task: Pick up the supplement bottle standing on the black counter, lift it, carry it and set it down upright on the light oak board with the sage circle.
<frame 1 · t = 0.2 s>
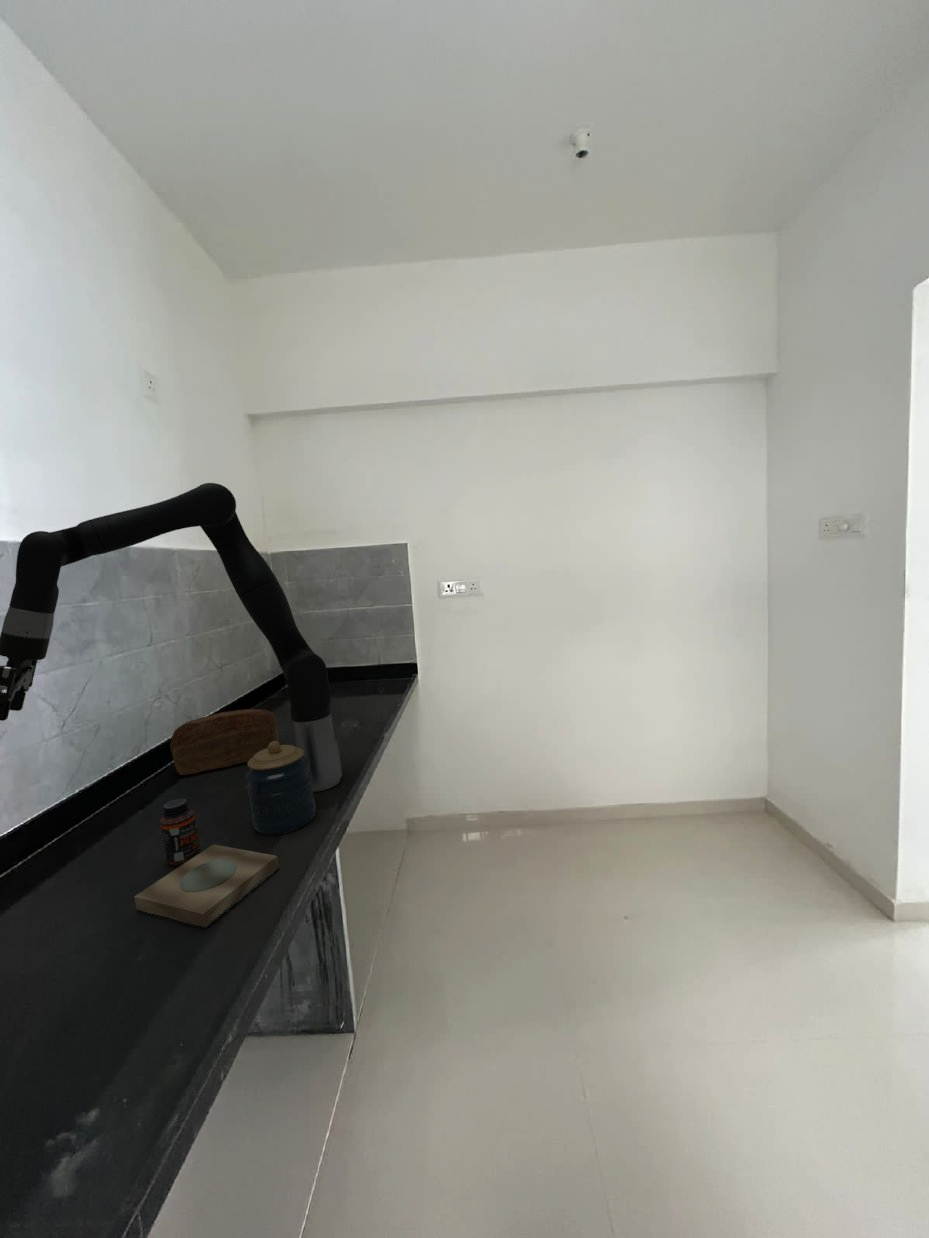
hand: (7, 714, 105), 31 cm above the counter, tool tilted 20°, fingers open, 8 cm apart
bread: (230, 763, 155), on the counter
oak board: (211, 888, 94), on the counter
supplement bottle: (184, 858, 105), on the counter
canister: (286, 821, 116), on the counter
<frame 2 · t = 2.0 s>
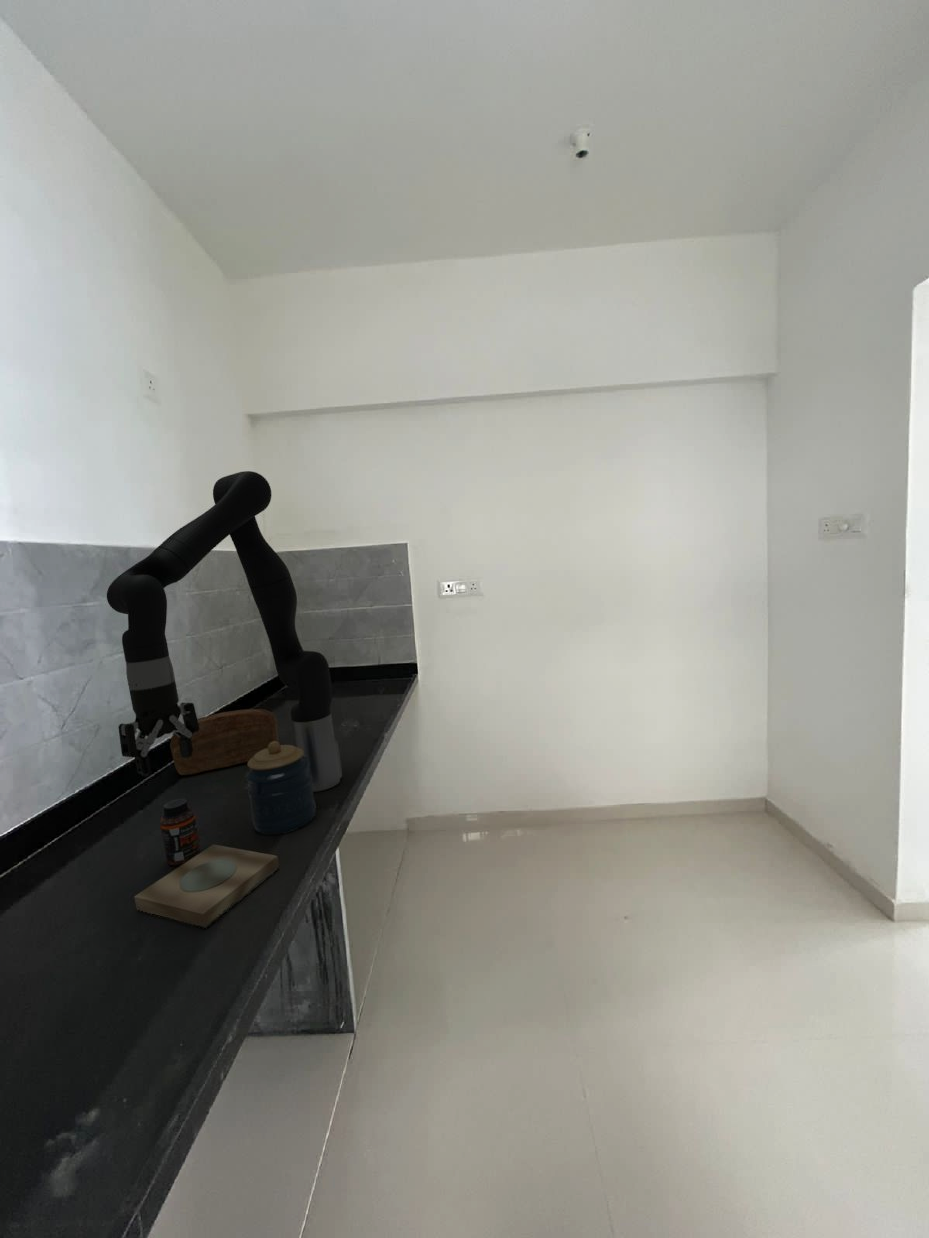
hand: (167, 765, 103), 19 cm above the counter, tool pointing down, fingers open, 8 cm apart
nothing on the counter moved.
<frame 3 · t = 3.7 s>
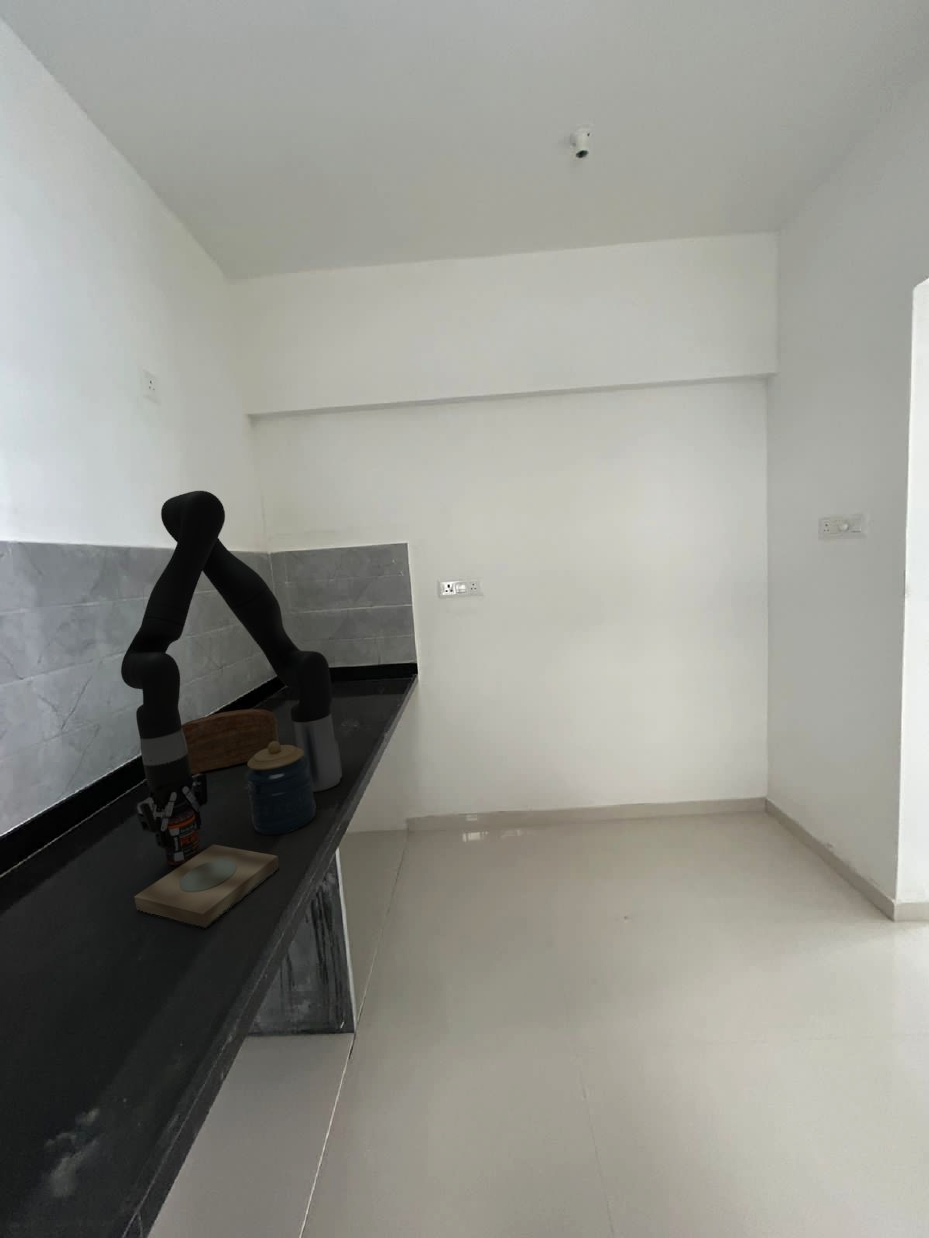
hand: (181, 838, 105), 4 cm above the counter, tool pointing down, fingers closed on supplement bottle, 6 cm apart
supplement bottle: (184, 858, 105), on the counter, touching gripper
everything else where it was.
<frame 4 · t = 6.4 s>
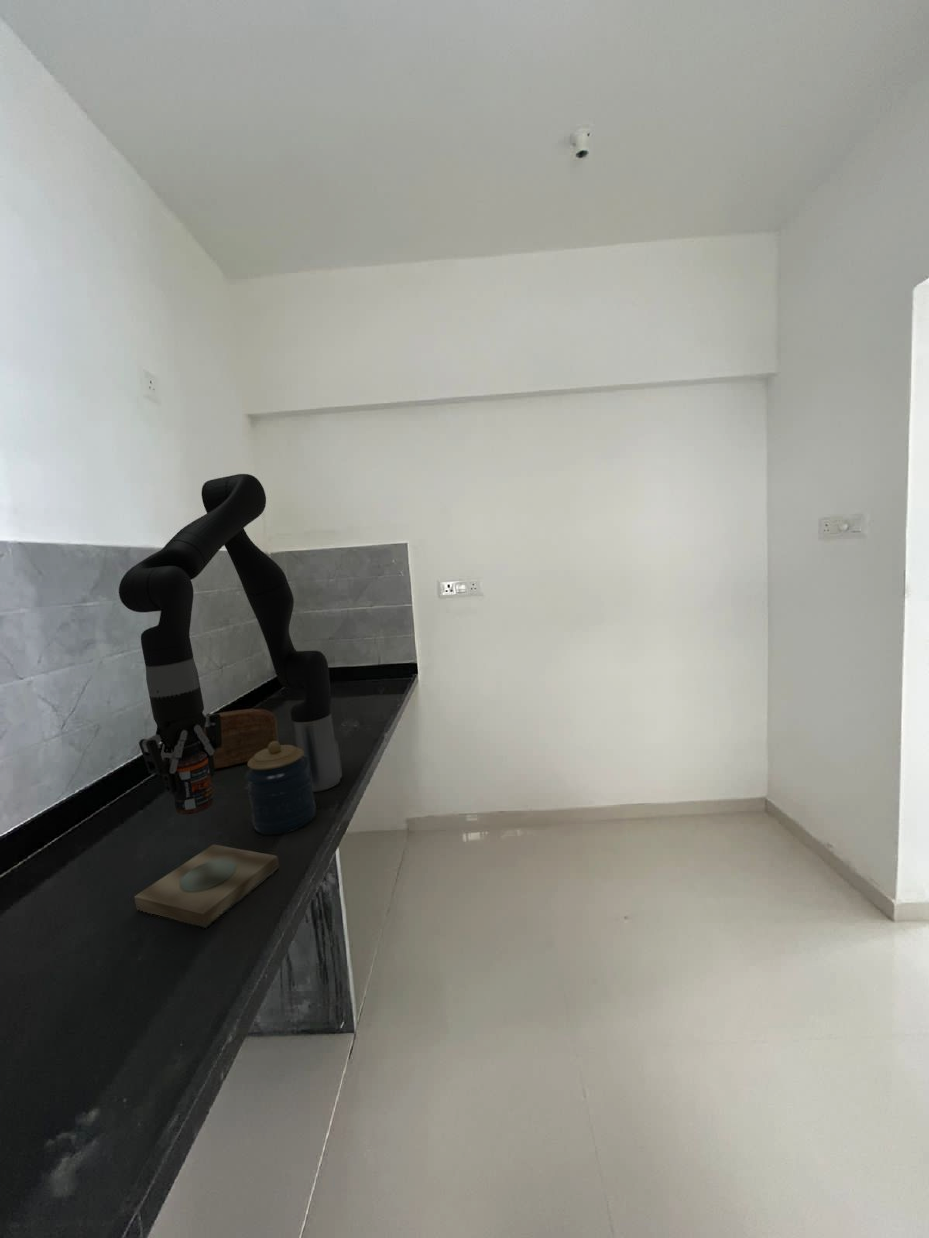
hand: (192, 784, 92), 19 cm above the counter, tool pointing down, fingers closed on supplement bottle, 6 cm apart
supplement bottle: (196, 808, 92), point 15 cm above the counter, touching gripper
everything else where it was.
when the fingers open (8 cm above the counter, at t = 9.3 s): supplement bottle drops 1 cm, resting on oak board.
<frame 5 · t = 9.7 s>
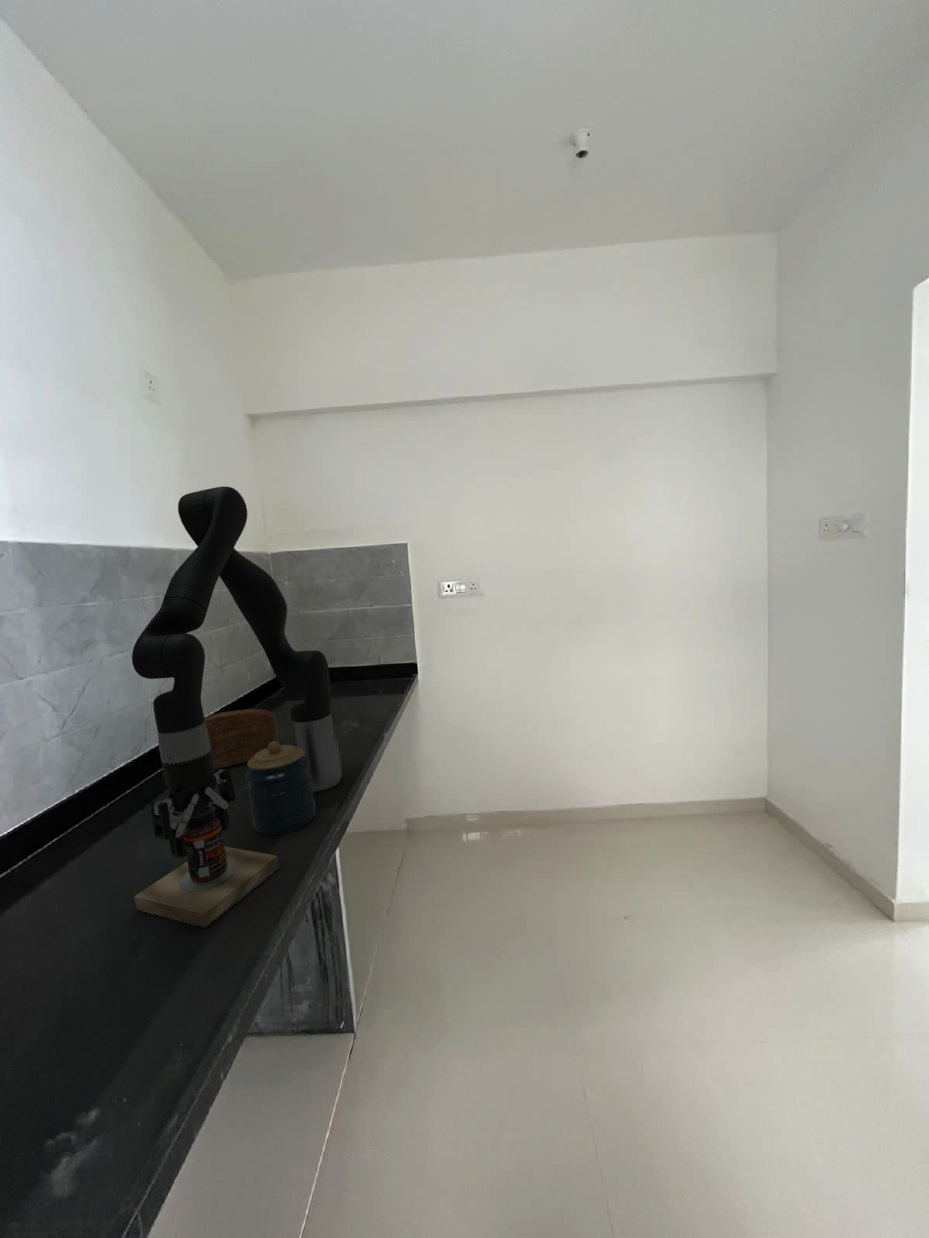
hand: (202, 842, 93), 9 cm above the counter, tool pointing down, fingers open, 8 cm apart
supplement bottle: (209, 874, 94), point 2 cm above the counter, touching oak board
everything else where it was.
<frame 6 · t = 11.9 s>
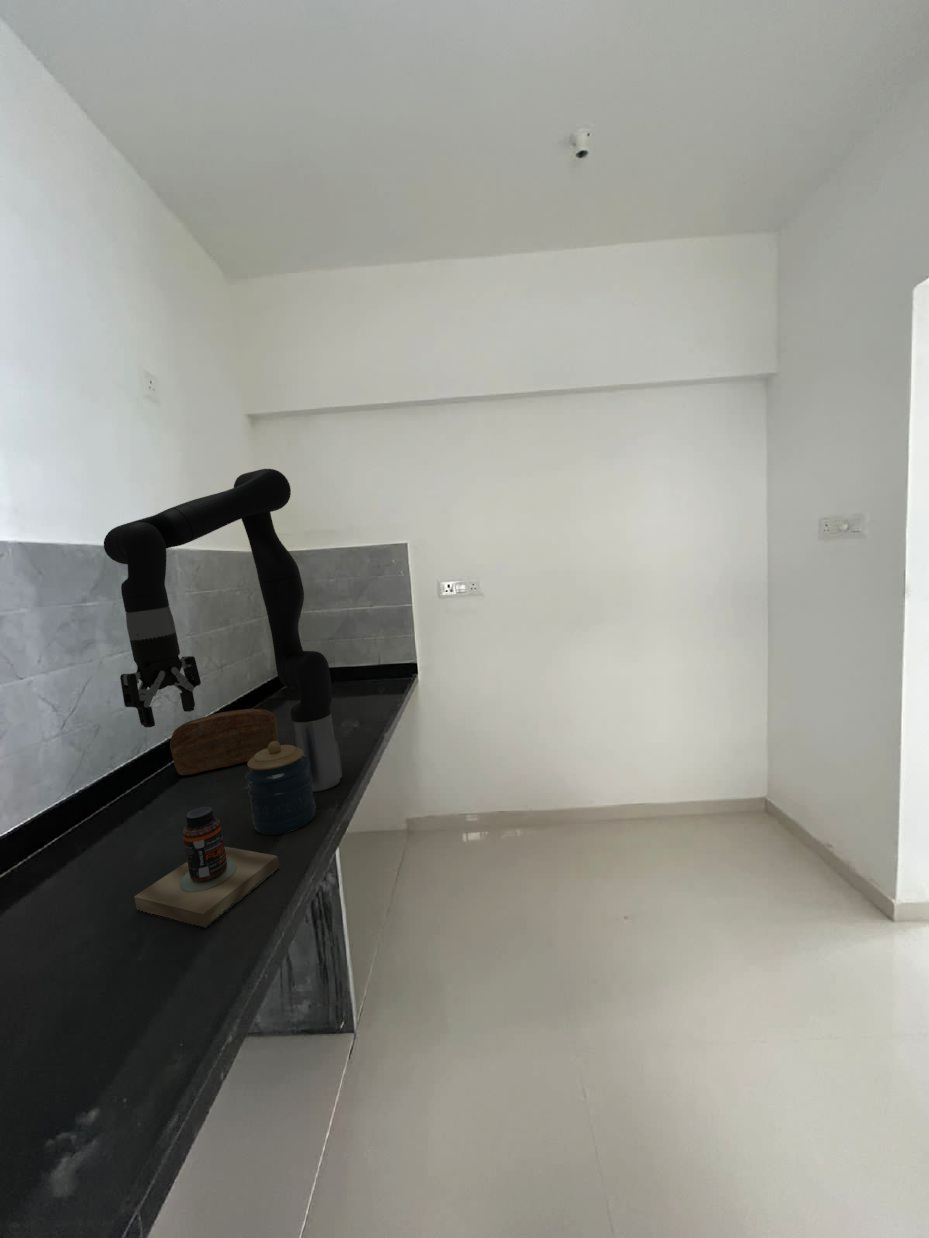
hand: (170, 718, 102), 28 cm above the counter, tool pointing down, fingers open, 8 cm apart
nothing on the counter moved.
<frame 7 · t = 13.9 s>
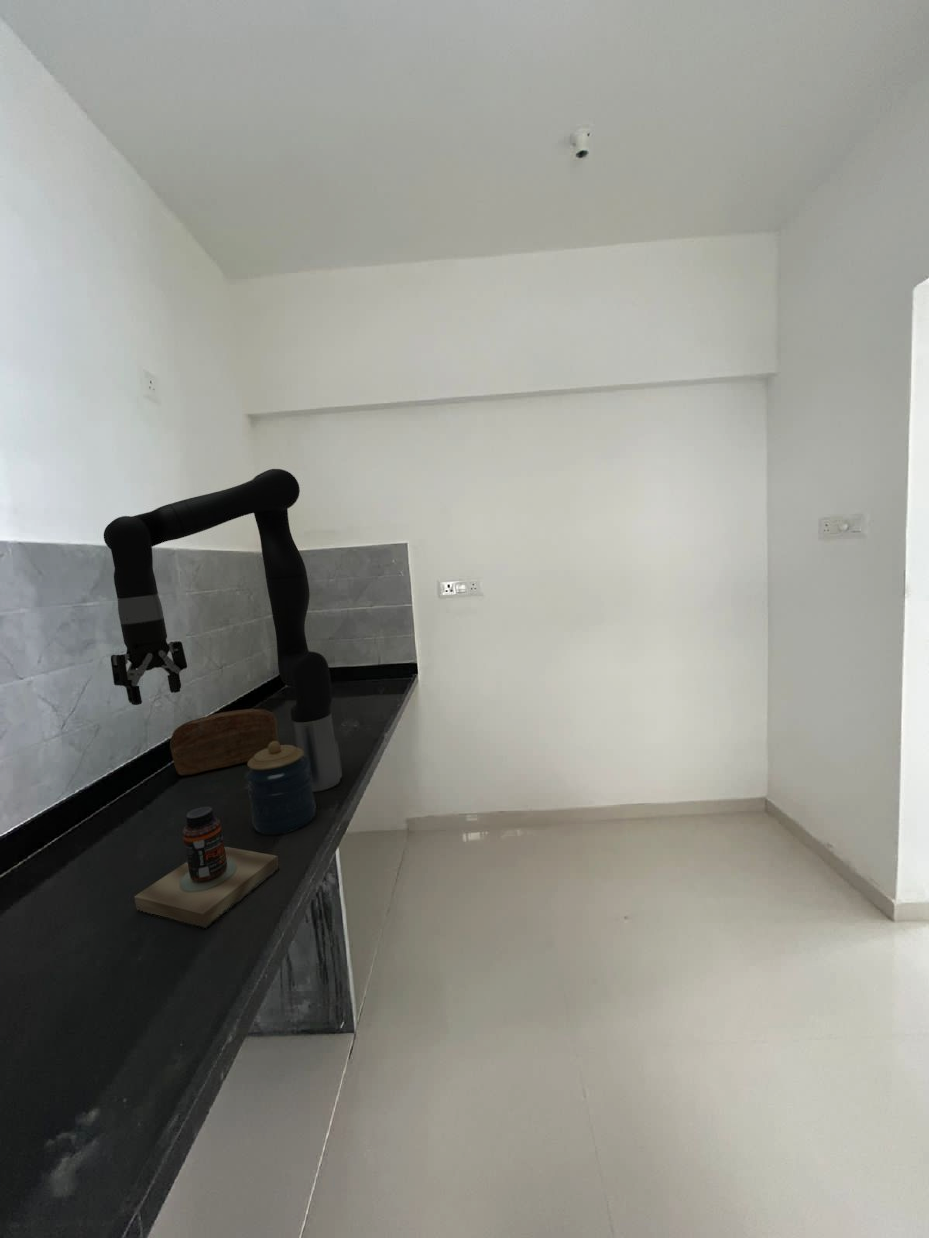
hand: (157, 698, 110), 30 cm above the counter, tool pointing down, fingers open, 8 cm apart
nothing on the counter moved.
at the end: supplement bottle inside the target area on the oak board (0.3 cm from its centre), point 2.5 cm above the oak board's base; supplement bottle tilted 0°; the gripper is holding nothing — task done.
